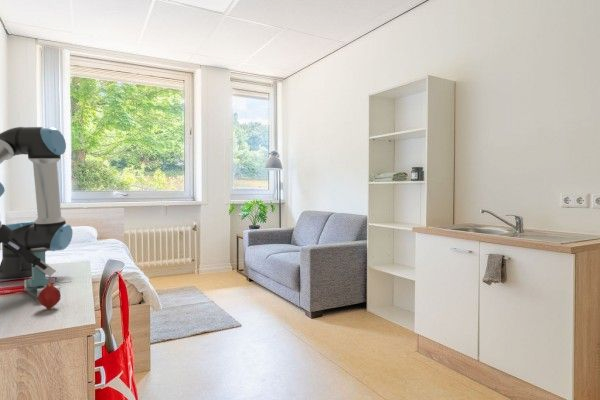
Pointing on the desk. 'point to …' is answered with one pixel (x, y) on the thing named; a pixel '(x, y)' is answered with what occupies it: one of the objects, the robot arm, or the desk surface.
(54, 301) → the onion
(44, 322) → the desk surface
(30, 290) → the rail
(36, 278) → the carriage
